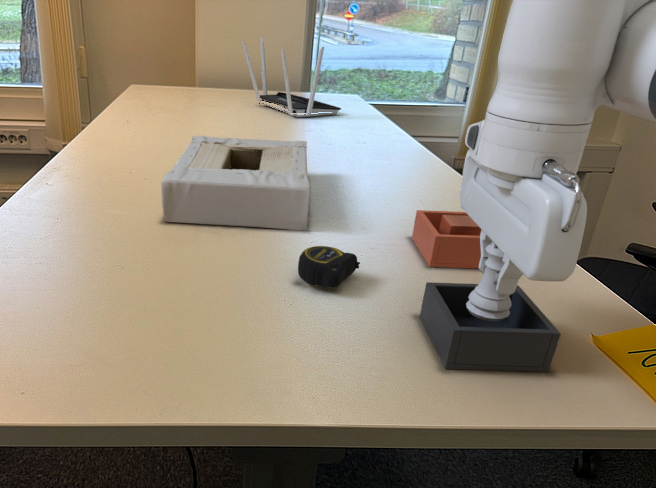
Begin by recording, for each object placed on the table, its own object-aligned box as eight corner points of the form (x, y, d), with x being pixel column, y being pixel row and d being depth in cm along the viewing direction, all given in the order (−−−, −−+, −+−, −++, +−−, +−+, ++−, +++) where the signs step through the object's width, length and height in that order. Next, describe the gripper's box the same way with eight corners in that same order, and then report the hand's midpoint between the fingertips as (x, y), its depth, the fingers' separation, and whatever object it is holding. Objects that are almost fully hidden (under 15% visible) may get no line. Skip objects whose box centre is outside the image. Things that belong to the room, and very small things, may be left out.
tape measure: (335, 298, 72) (338, 270, 70) (287, 282, 75) (289, 256, 73) (358, 278, 77) (361, 252, 75) (312, 265, 80) (314, 240, 78)
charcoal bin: (508, 320, 69) (518, 285, 66) (548, 372, 59) (561, 333, 57) (419, 317, 68) (426, 282, 66) (445, 369, 59) (454, 330, 57)
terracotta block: (466, 244, 88) (472, 215, 86) (476, 256, 84) (483, 226, 82) (436, 243, 88) (442, 214, 85) (445, 255, 84) (451, 225, 82)
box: (191, 169, 120) (161, 223, 92) (191, 131, 117) (160, 175, 88) (303, 177, 120) (309, 233, 91) (307, 139, 116) (313, 185, 88)
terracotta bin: (479, 240, 91) (485, 212, 89) (504, 269, 81) (513, 239, 79) (411, 238, 91) (416, 210, 88) (429, 266, 81) (435, 236, 79)
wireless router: (352, 118, 174) (361, 46, 165) (288, 124, 164) (292, 47, 154) (291, 100, 200) (295, 36, 190) (231, 104, 189) (233, 36, 180)
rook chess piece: (515, 323, 60) (536, 252, 56) (472, 322, 60) (490, 250, 56) (500, 303, 64) (518, 235, 60) (459, 301, 64) (475, 233, 60)
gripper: (626, 181, 45) (573, 335, 51) (520, 126, 63) (490, 245, 69) (545, 178, 45) (502, 333, 51) (461, 124, 63) (438, 243, 69)
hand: (495, 281), depth 60 cm, fingers closed on rook chess piece, 3 cm apart
